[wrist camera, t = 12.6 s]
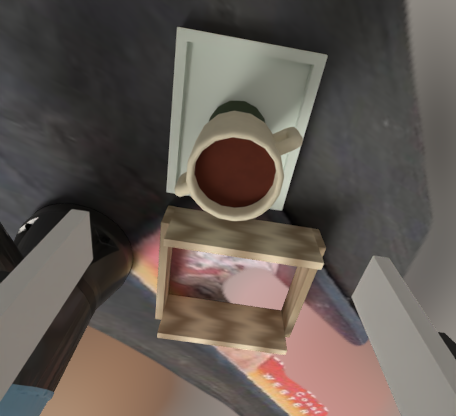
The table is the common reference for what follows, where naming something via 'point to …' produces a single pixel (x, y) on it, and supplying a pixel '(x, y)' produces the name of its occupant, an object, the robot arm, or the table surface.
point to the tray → (239, 91)
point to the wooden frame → (243, 248)
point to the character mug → (237, 163)
